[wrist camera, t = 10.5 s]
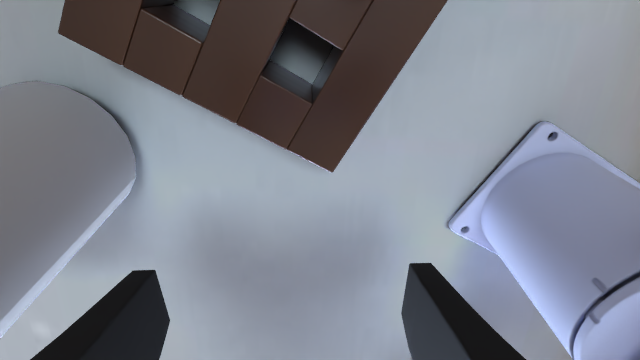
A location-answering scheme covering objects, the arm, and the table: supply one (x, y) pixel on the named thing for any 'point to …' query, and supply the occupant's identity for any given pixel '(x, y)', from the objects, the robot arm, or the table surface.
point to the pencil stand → (263, 60)
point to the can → (53, 184)
